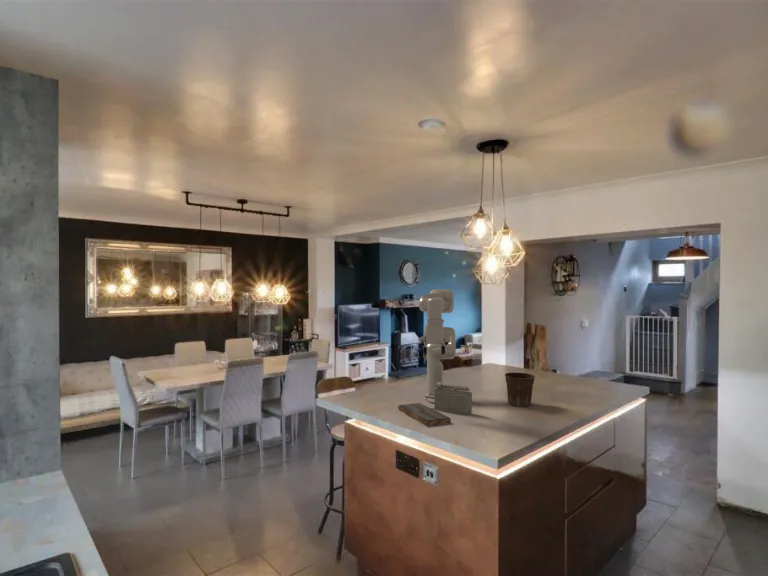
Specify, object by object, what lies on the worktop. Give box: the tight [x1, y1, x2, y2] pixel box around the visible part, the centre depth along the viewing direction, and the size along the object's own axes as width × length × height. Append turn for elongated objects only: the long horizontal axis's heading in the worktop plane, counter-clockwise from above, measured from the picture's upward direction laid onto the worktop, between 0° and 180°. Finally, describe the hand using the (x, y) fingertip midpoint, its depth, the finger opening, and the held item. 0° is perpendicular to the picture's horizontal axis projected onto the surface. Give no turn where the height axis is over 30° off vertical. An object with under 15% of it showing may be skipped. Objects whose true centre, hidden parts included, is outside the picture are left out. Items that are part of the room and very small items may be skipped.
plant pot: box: [504, 372, 536, 408], centre depth 243 cm, size 16×16×16 cm
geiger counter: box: [425, 382, 473, 416], centre depth 229 cm, size 14×6×25 cm
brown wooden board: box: [397, 402, 452, 427], centre depth 218 cm, size 13×30×2 cm, turn 24°
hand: (434, 354), depth 231 cm, fingers open, 9 cm apart
